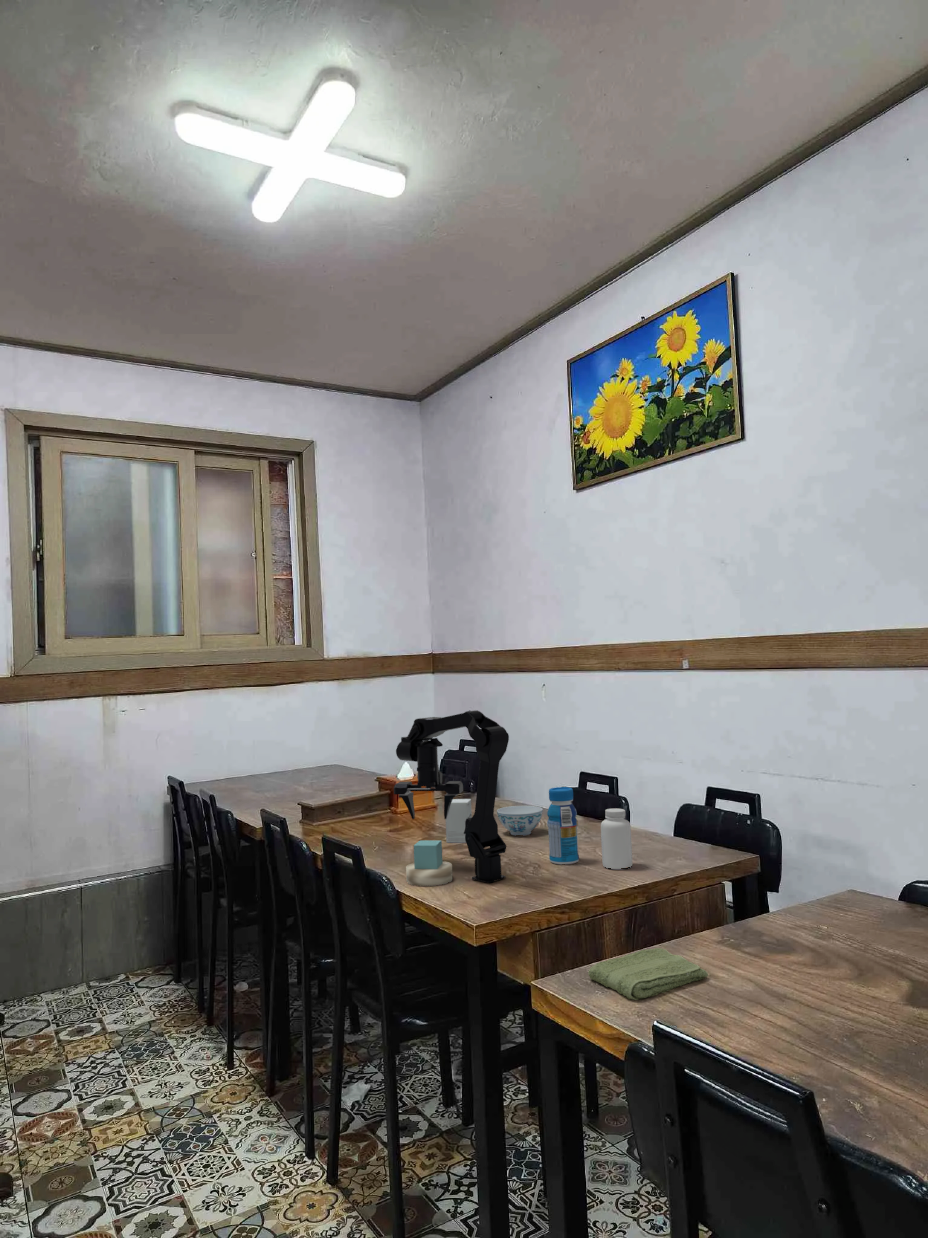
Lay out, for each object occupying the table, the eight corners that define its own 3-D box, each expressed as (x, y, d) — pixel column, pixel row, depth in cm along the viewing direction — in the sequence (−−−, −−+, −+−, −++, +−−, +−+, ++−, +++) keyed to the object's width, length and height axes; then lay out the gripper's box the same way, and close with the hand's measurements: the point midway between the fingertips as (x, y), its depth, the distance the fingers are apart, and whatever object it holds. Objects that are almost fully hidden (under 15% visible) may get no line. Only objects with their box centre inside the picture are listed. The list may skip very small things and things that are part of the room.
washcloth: (712, 981, 139) (711, 962, 139) (634, 1006, 130) (633, 986, 130) (658, 959, 150) (657, 941, 150) (583, 981, 141) (582, 962, 141)
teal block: (442, 863, 213) (441, 840, 214) (437, 869, 208) (436, 845, 208) (420, 863, 215) (419, 840, 215) (414, 869, 209) (413, 845, 209)
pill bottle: (638, 865, 217) (635, 809, 218) (622, 872, 211) (619, 813, 212) (613, 861, 222) (610, 806, 223) (596, 867, 216) (593, 811, 217)
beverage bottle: (544, 864, 223) (540, 790, 224) (555, 857, 230) (552, 786, 231) (573, 866, 219) (569, 791, 220) (583, 859, 226) (580, 787, 228)
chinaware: (513, 827, 275) (512, 804, 275) (552, 831, 266) (551, 807, 266) (488, 836, 263) (487, 812, 263) (528, 840, 254) (527, 815, 254)
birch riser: (461, 879, 212) (461, 863, 212) (431, 890, 203) (431, 874, 203) (427, 873, 219) (426, 858, 220) (396, 884, 210) (396, 868, 210)
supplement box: (468, 843, 253) (467, 802, 254) (445, 843, 255) (444, 802, 255) (473, 838, 260) (471, 798, 261) (450, 838, 262) (449, 798, 262)
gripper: (465, 758, 232) (467, 813, 232) (403, 759, 236) (404, 813, 235) (458, 763, 222) (460, 821, 221) (392, 764, 225) (394, 821, 224)
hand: (429, 819), depth 226 cm, fingers open, 9 cm apart
